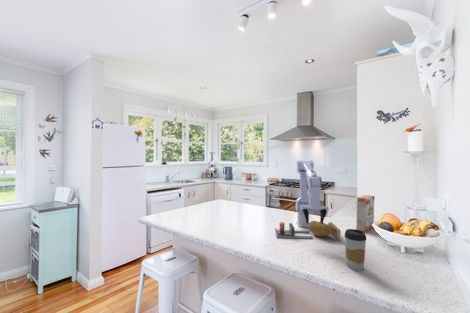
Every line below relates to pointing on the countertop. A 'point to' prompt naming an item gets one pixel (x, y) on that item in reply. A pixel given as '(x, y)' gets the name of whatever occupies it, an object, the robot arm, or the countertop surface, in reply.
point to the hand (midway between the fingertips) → (314, 223)
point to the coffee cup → (355, 248)
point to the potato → (320, 228)
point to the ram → (286, 232)
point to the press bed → (335, 235)
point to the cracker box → (365, 213)
